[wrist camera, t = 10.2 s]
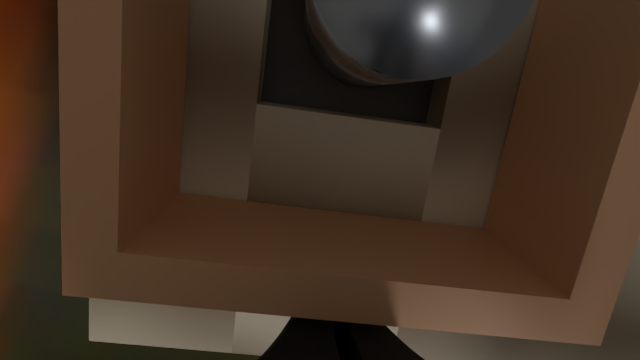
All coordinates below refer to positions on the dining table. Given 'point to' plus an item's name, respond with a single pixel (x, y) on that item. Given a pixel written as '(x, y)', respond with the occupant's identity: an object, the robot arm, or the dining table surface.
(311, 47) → the peg
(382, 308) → the light brown open box
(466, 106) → the board
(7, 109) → the dining table surface
